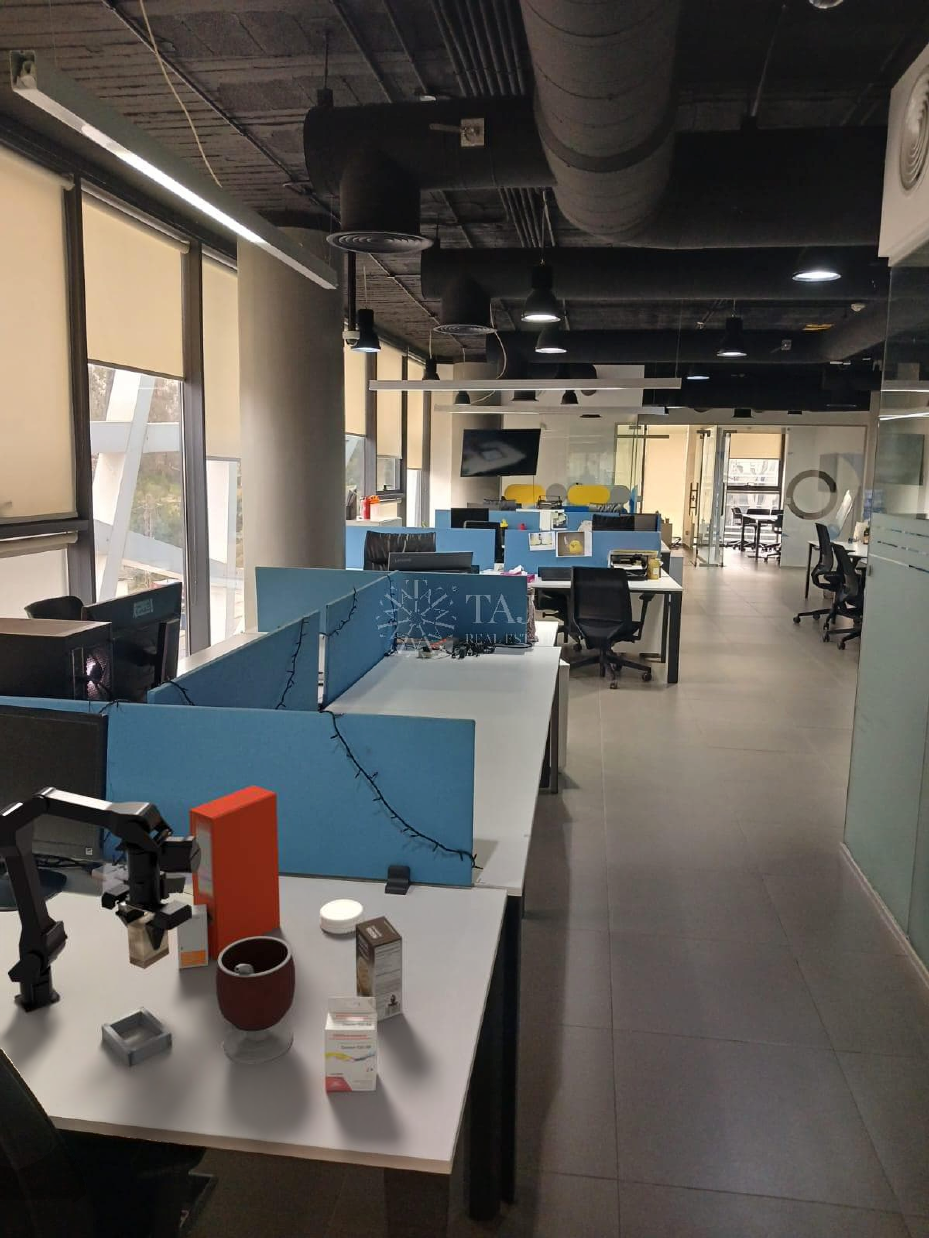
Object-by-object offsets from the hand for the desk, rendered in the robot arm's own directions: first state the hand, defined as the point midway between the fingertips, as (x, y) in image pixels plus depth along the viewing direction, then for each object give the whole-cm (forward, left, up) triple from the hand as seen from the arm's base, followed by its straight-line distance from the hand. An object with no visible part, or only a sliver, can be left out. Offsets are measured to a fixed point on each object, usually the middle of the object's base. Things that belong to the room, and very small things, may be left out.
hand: (148, 946), depth 168 cm
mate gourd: (+25, +8, -12) cm, 29 cm away
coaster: (+2, +45, -12) cm, 46 cm away
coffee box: (+32, +31, -12) cm, 46 cm away
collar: (+9, -7, -12) cm, 17 cm away
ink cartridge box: (+45, +14, -12) cm, 48 cm away
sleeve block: (0, 0, -3) cm, 3 cm away
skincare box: (-7, +13, -12) cm, 19 cm away
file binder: (-9, +25, -12) cm, 29 cm away
